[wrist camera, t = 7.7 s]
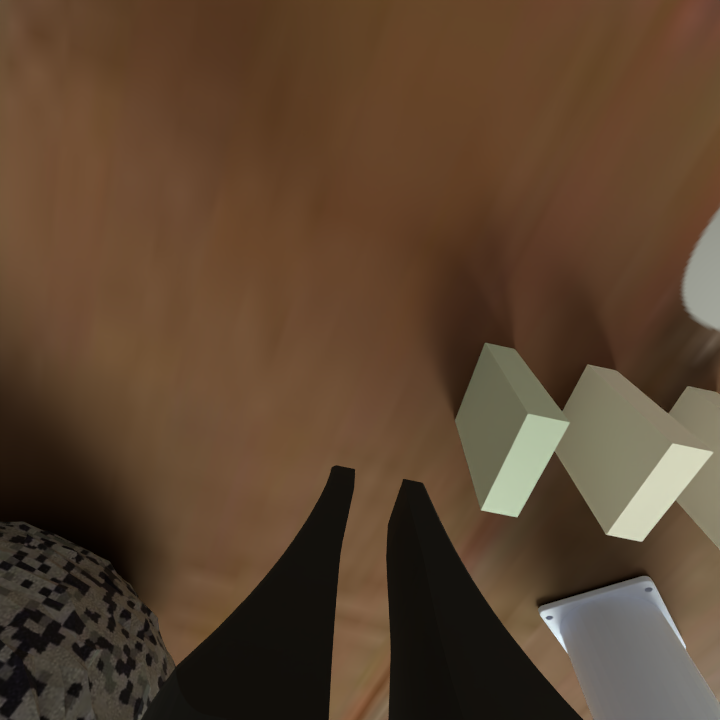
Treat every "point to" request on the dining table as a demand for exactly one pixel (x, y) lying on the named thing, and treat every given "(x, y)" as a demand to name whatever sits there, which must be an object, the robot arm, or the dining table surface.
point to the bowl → (72, 634)
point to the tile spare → (507, 429)
